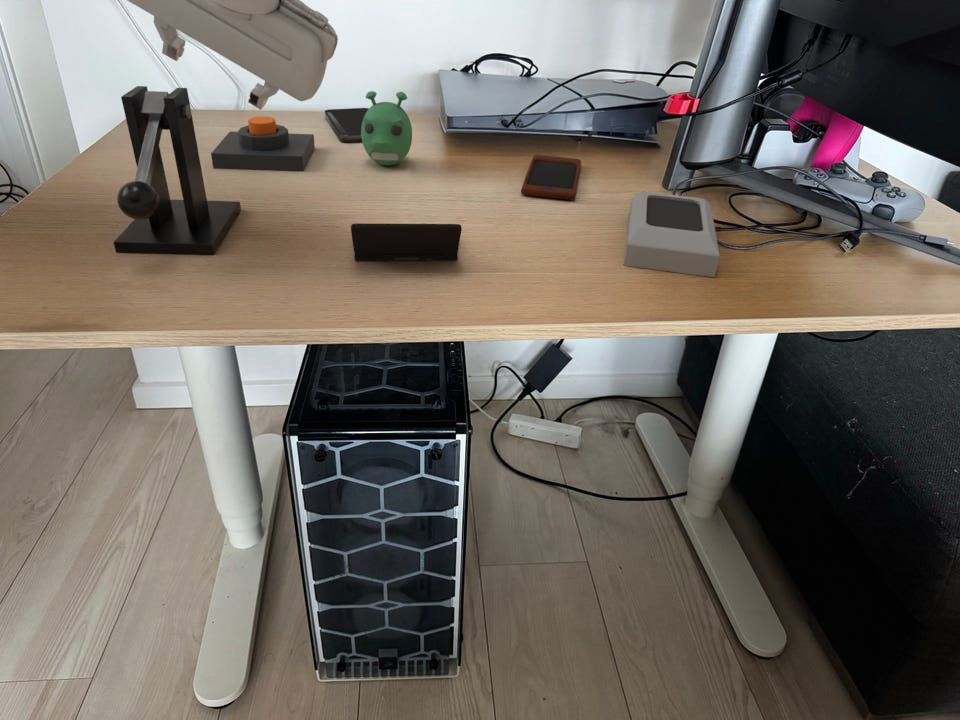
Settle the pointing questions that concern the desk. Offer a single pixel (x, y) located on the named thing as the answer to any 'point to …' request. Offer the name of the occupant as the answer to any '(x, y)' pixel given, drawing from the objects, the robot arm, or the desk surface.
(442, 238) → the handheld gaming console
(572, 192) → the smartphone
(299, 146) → the button box
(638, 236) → the grey tapered block
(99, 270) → the desk surface
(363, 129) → the alien toy
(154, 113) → the lever
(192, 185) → the bracket
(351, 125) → the phone
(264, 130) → the button
